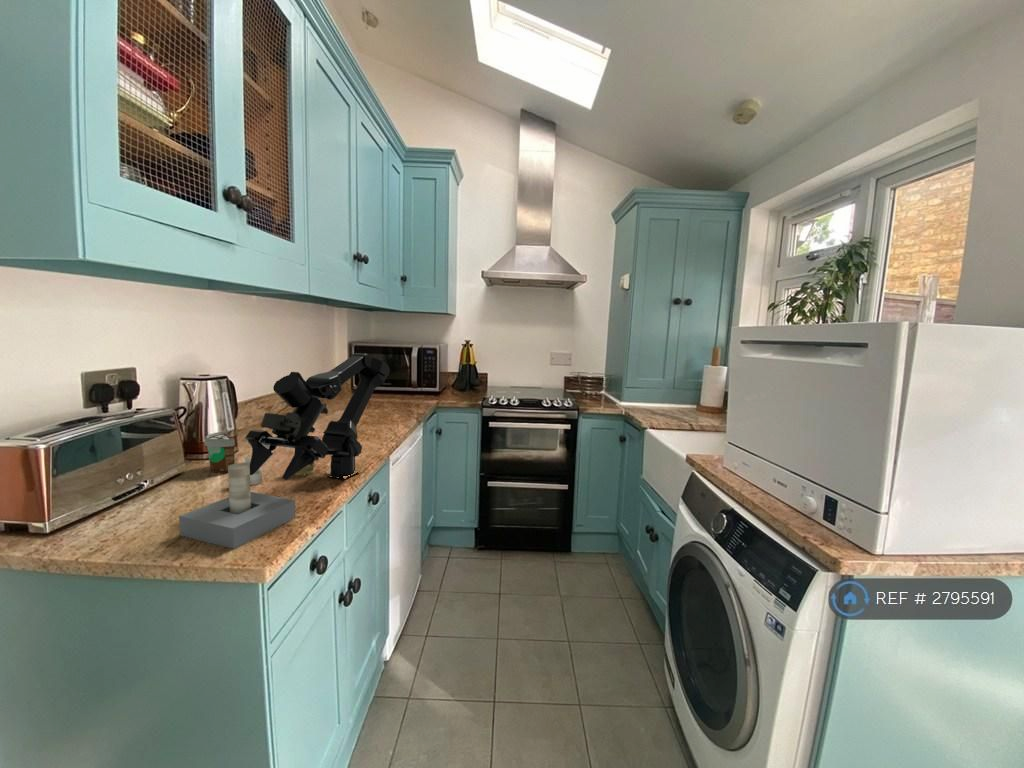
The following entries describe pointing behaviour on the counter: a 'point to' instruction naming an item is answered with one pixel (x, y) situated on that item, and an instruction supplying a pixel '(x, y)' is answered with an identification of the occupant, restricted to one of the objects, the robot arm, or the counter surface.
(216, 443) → the food container
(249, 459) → the short pin
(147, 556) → the counter surface
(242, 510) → the long pin
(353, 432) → the robot arm
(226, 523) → the socket block
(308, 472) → the chocolate bunny
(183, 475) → the counter surface
